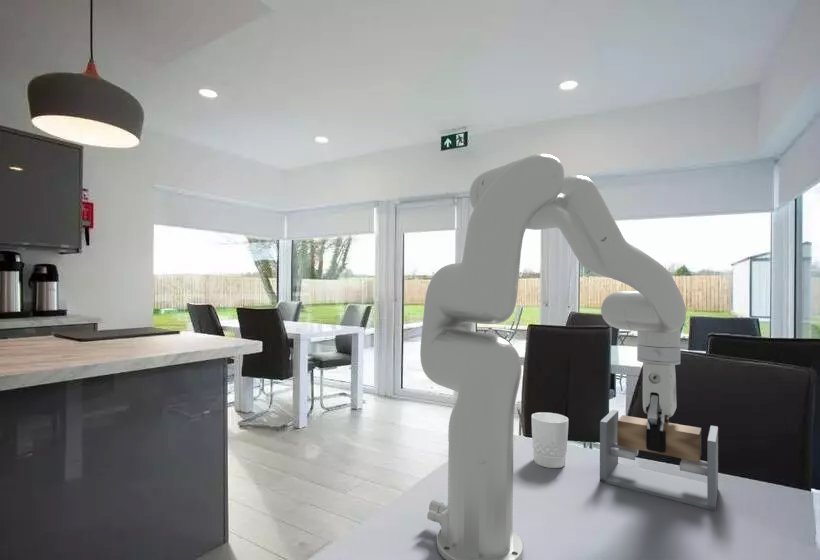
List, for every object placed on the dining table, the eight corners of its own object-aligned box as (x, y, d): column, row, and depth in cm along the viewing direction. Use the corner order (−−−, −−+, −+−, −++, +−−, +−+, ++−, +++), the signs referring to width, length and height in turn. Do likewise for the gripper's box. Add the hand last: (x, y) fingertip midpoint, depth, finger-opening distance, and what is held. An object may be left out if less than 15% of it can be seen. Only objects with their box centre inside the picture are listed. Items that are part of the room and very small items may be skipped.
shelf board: (701, 453, 86) (701, 427, 86) (699, 461, 82) (699, 434, 82) (622, 438, 95) (622, 415, 95) (617, 445, 91) (617, 420, 91)
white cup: (523, 459, 101) (523, 414, 101) (549, 453, 105) (549, 410, 105) (549, 472, 94) (550, 424, 94) (576, 465, 98) (576, 419, 98)
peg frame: (599, 481, 90) (600, 421, 90) (612, 464, 98) (612, 409, 99) (715, 510, 78) (715, 441, 78) (717, 488, 87) (718, 426, 87)
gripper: (675, 362, 80) (675, 464, 79) (684, 351, 93) (684, 439, 93) (629, 357, 84) (628, 455, 84) (644, 348, 98) (644, 432, 98)
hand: (658, 445), depth 88 cm, fingers closed on shelf board, 5 cm apart
